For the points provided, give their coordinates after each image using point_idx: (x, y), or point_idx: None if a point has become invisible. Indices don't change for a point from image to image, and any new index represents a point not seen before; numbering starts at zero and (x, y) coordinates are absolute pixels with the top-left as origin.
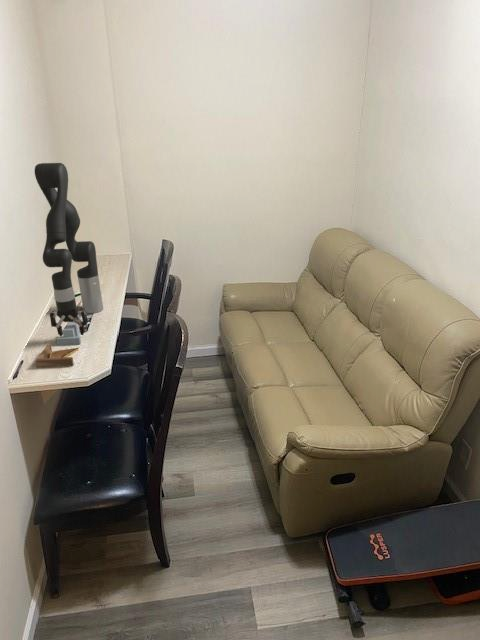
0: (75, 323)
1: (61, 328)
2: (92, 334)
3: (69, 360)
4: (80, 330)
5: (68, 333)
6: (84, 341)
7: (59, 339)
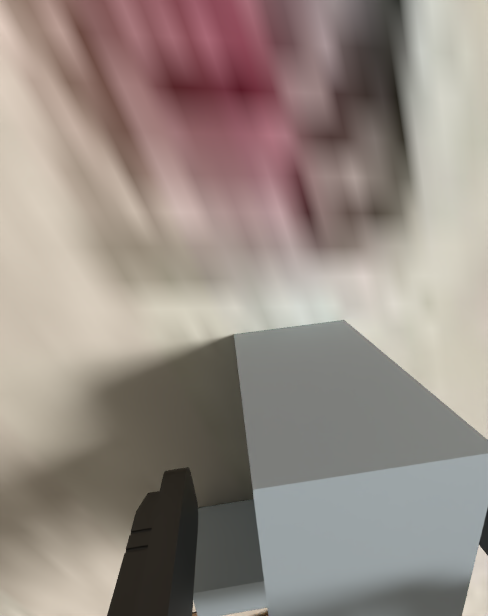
0: (450, 519)
1: (179, 583)
2: (480, 302)
3: None
4: (484, 540)
5: None
6: None
7: (230, 602)
